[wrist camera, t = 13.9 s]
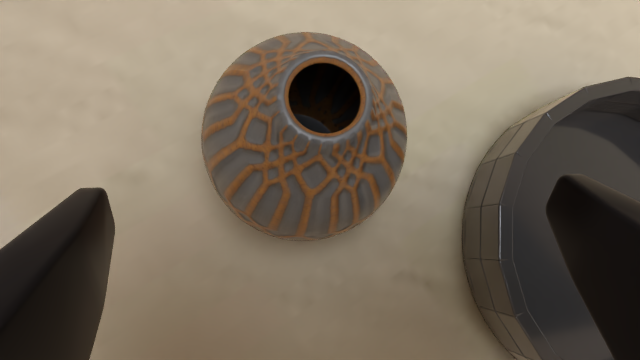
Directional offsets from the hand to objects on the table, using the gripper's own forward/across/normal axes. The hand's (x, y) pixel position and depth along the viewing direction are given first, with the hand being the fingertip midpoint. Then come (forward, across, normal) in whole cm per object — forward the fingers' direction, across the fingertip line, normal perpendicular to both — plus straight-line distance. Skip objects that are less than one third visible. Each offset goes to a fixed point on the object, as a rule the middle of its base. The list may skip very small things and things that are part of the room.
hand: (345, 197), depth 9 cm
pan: (+6, -14, +8) cm, 17 cm away
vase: (+10, 0, +6) cm, 11 cm away
